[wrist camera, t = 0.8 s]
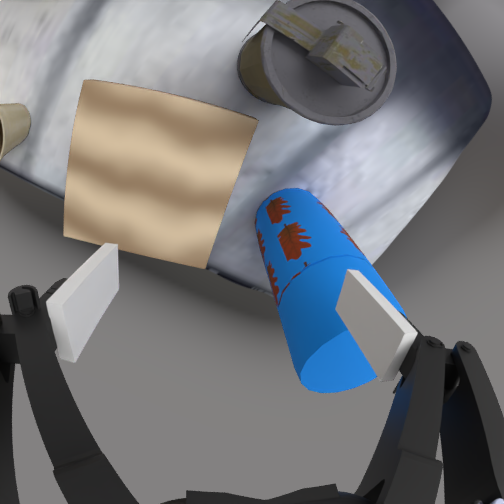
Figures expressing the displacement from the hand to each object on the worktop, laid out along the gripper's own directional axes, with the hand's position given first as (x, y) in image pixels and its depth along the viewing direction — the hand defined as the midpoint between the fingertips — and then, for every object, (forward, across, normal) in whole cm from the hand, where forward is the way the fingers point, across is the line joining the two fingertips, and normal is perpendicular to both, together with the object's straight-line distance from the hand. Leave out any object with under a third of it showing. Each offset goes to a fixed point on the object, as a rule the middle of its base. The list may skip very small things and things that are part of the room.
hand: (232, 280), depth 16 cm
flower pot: (+21, -33, +10) cm, 40 cm away
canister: (+22, +4, +19) cm, 29 cm away
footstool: (+23, -9, +6) cm, 26 cm away
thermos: (+27, +10, -2) cm, 28 cm away
